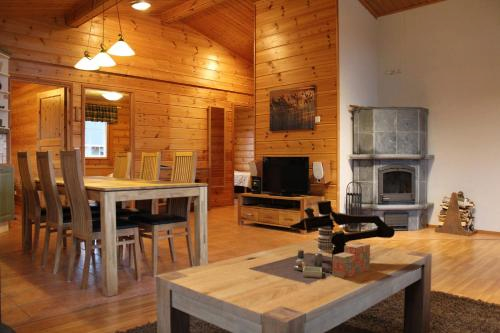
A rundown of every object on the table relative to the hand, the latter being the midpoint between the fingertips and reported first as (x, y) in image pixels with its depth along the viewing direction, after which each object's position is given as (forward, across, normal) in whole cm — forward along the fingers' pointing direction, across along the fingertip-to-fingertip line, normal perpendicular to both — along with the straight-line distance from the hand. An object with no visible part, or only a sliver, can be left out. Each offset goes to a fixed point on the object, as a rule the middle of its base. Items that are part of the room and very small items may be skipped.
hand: (290, 226), depth 223 cm
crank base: (0, +18, +20) cm, 27 cm away
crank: (-1, +15, +18) cm, 23 cm away
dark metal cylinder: (-9, +17, +21) cm, 29 cm away
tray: (-5, +27, +22) cm, 35 cm away
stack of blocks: (-23, +22, +25) cm, 40 cm away
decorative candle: (-18, -24, +17) cm, 35 cm away
